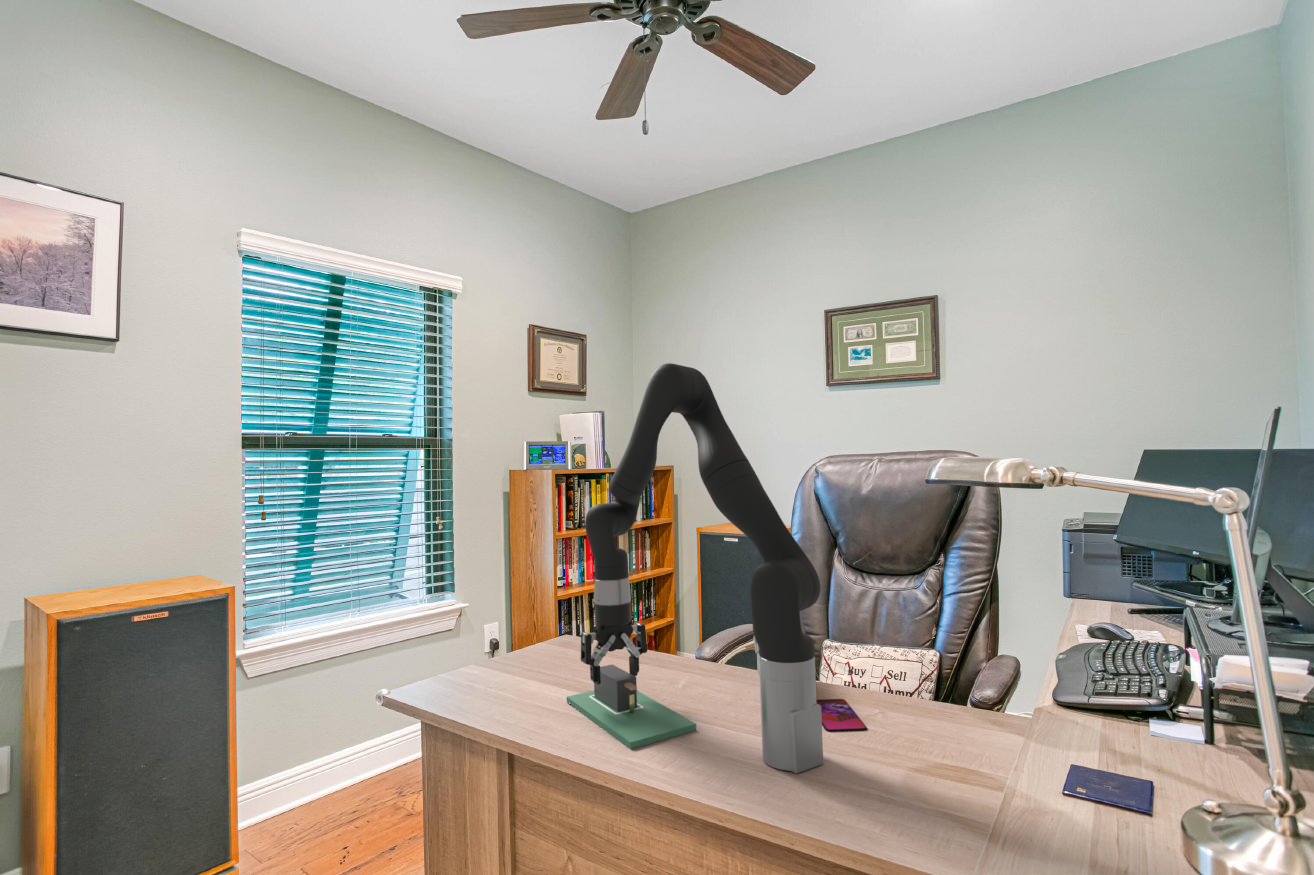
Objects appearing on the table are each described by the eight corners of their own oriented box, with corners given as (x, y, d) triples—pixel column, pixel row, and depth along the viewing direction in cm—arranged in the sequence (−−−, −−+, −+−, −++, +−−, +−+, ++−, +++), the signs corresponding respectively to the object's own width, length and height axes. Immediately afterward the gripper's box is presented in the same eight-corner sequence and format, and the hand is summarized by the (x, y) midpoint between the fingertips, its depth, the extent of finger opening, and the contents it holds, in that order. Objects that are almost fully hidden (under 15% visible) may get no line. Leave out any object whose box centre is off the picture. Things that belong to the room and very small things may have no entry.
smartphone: (826, 729, 121) (806, 699, 136) (826, 734, 121) (807, 704, 136) (868, 728, 121) (844, 698, 136) (868, 733, 121) (844, 702, 136)
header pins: (635, 712, 130) (635, 694, 130) (631, 713, 130) (630, 695, 130) (601, 691, 143) (601, 674, 143) (597, 692, 143) (596, 675, 143)
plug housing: (644, 711, 131) (643, 680, 131) (625, 716, 128) (624, 685, 129) (613, 692, 142) (612, 664, 142) (594, 696, 140) (593, 668, 140)
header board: (696, 730, 124) (696, 723, 124) (630, 749, 117) (630, 741, 117) (624, 688, 148) (624, 682, 148) (566, 702, 140) (566, 696, 140)
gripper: (589, 607, 130) (592, 691, 129) (651, 597, 138) (654, 677, 137) (573, 601, 137) (576, 681, 136) (633, 592, 144) (636, 668, 143)
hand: (615, 679), depth 136 cm, fingers open, 8 cm apart
